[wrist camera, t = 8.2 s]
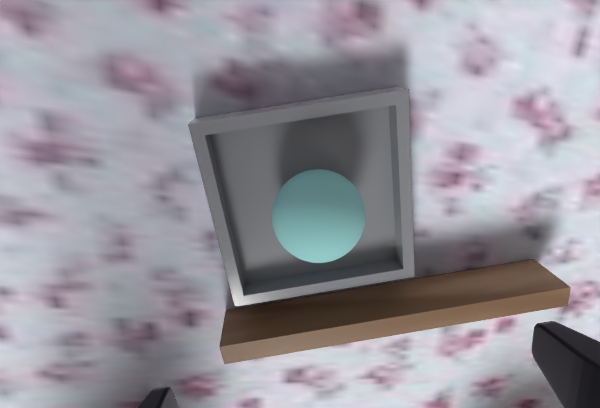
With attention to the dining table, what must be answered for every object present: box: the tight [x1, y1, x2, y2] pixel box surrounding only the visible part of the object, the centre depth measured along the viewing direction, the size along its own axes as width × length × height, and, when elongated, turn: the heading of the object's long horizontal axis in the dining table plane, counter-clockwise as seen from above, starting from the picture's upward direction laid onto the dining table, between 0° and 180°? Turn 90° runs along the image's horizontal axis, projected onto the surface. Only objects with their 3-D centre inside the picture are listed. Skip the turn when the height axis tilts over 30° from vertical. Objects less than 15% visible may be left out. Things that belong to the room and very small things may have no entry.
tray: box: [188, 87, 415, 307], centre depth 19 cm, size 10×10×2 cm
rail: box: [220, 259, 571, 364], centre depth 21 cm, size 1×19×3 cm, turn 98°
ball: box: [272, 169, 365, 263], centre depth 18 cm, size 4×4×4 cm
